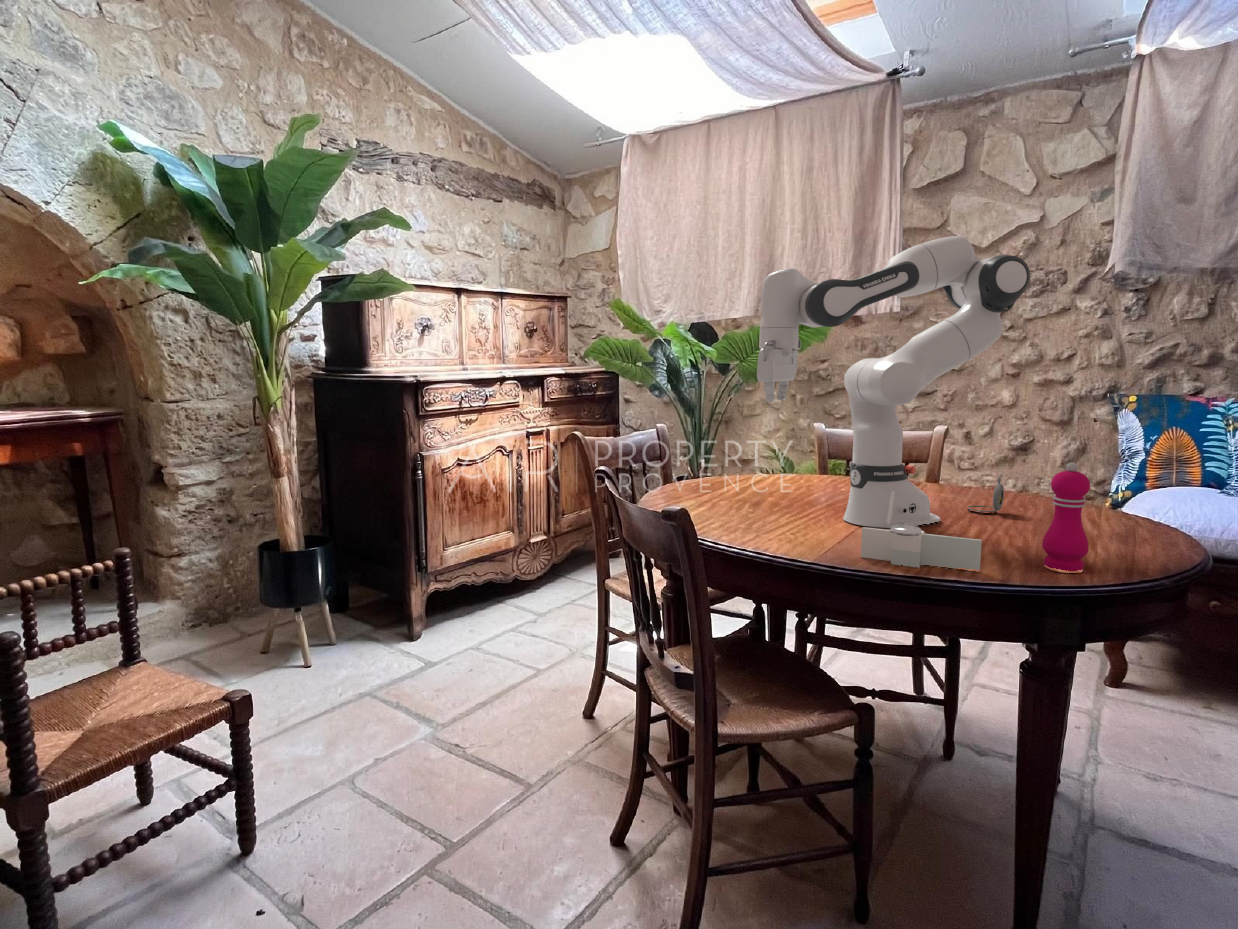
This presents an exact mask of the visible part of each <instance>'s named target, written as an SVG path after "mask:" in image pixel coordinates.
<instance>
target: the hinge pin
mask: <svg viewBox="0 0 1238 929" xmlns="http://www.w3.org/2000/svg"><path fill="white" fill-rule="evenodd" d="M890 530H891V532H892V533H894V534H897V535H904V536H917V535H920V534H921V531H922V528H920V526H916V527H915V526H910V525H894V526H891V528H890Z"/></svg>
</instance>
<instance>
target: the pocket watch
mask: <svg viewBox="0 0 1238 929" xmlns="http://www.w3.org/2000/svg"><path fill="white" fill-rule="evenodd" d="M1002 477H1003V474H1000V475H999V477H998V479H997V484H996V485H995V487H994V490H993V494H992V495H993V496H992V506H988V505H968V506H967V508H968V509H969V510H974V509H970V508H969V507H990V508H992V509H995V510H994V511H981V510H975V511H980V512H995V511H997V512H998V511H1000V510H1001V509H1002V507H1003V504H1004V498H1005V497H1004V496H1005V488H1004V485H1003V484H1001V481H1002ZM968 509H967V510H968ZM969 510H968V511H969Z"/></svg>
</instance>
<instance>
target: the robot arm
mask: <svg viewBox="0 0 1238 929" xmlns="http://www.w3.org/2000/svg"><path fill="white" fill-rule="evenodd" d="M1030 282H1031V270H1030V266H1028V263H1027V262H1026V261H1024V259H1022V258H1020V257H1019V256H1015V255H1012V254H1000V255H995V256H993V257H988V258H984V259H980V258H978V256H977V255H976V254H975V249H974V247H973V244H972V243H971V242H970V240H968V239H967V238H966V237H964V236H960V235H951V236H946V237H945V236H944V237H941V238H936V239H933V240H929V241H925V242H923V243H920V244H916V245H913V246H911V247H909V248H908V247H907V249H905V250H903V251H900V252H898V253H896V254H895V255H894V256H892V257H890V259H888V261H887V263H886V266H885V267H884V268H882V269H880V270H877V271H875V272H872V273H869V274H865V275H863V276H861V277H858V278H855V279H854V278H853V279H838V278H836V279H835V278H832V279H831V278H830V279H825V280H823V281H821V282H817V281H814V280H812V279H810V278H808V277H807V276H805V275H803V274H802V273H801V272H800V271H799V269H796V268H786V269H781V270H778V271H773V272H771V273H770V274H769V273H768V275H766V277H765V278H764V279H763V283H762V288H761V289H762V290H761V297H760V313H761V322H760V325H759V338H758V339H759V341H758V344H759V345H758V349H760V350H759V352H758V356H757V357H758V358H757V359H758V360H757V366H756V367H757V369H756V378H757V382H759V383H763V388H764V394H765V400H764V401H765V402H767V403H773V402H775V400H776V398H777V400H779V401H785V400H786V399H787V391H788V388H789V381H794V380H795V378H796V374H797V370H798V361H799V360H798V359H799V351H798V350H801V348H802V341H801V339H800V336H799V329H800V325H802V326H806V327H807V328H808V327H809V328H822V327H827V328H829V327H830V328H834V327H838V326H840V325H843V324H844V323H846V322H847V321H848V320H850V319H851V318H852V317H853V316H854V315H855V314H856V313H857V312H858V311H859V310H861V309H862V308H865V307H868V306H869V305H872V304H876V303H879V302H880V301H883V300H886V299H889V298H891V297H898V298H902V299H903V298H911V297H914V296H919V295H923V294H926V293H929V292H931V291H935V290H937V289H940V288H942V289H943V290H944V292H945V296H946V297H947V300H948V301H949V302H950V304H951V305H952V306H954V307H955V308H957V309H959V310H958V311H956V313H954V314H953V315H952V316H949V317H947V318H945V319H943V320H941V321H940V322H937V323H936V324H934V325H933V326H930V327H928V328H927V329H925V330H923V331H921V332H920V333H917V334H916V335H914V336H911V338H910V339H909V341H908V342H906V343H905V344H904V345H903V346H901V347H900V348H899V349H897V350H896V351H895V352H892V353H890V354H889V355H885V356H883V357H870V358H869V357H867V358H863V359H861V360H859V361H857V362H855V363H853V364H852V365H851V366H849V367H848V369H847V370H846V372H845V375H844V377H843V378H844V379H843V384H844V388H845V390H846V392H847V396H848V401H849V402H848V403H849V408H850V409H849V410H850V415H851V423H852V432H853V433H852V437H853V438H852V461H851V462H850V467H849V468H850V469H849V481H850V489H849V495H848V496H849V497H848V501H847V504H846V509H845V513H844V515H843V518H842V519H843V520H844V521H845V522H847V523H850V524H853V525H858V526H862V527H869V528H882V529H891V526H894V525H910V526H916V527H919V526H918V525H922V524H927V525H931V524H930V523H933V524H935V523H934V522H938V521H941V517H940V516H938V515H937V514H933V513H932V512H931V503H930V498H929V497H928V495H927V494H926V493H925V492H924V491H923V490H921V489H920V488H919V487H917V486H916V485H915V484H914V483H913V482H911V481H910V480H909V479H908V475H907V474H910V475H914V474H916V473H917V470H918V469H917V468H918V467H916V465H911V464H907V465H906V466H905V464H903V463H902V462H903V443H904V442H903V440H904V438H903V437H904V431H903V428H902V425H901V424H900V421H899V418H898V417H899V416H898V413H897V412H898V411H897V408H896V407H899V406H902V405H905V404H909V403H911V401H913V400H914V399H915V398H916V397H917V396H918V395H919V393H920V392H921V391H922V390H924V389H925V388H926V387H927V386H928V385H930V384H931V383H933V382H934V380H936V379H938V378H939V377H941V376H943V375H944V374H947V373H948V372H950V371H952V370H953V369H955V368H957V367H960V366H962V365H963V364H965V363H967V362H969V361H970V360H972V359H973V358H975V357H977V356H979V355H980V354H981V353H983V352H984V351H986V350H987V349H989V347H991V346H992V345H994V344H995V342H997V341H998V340H999V339H1000V337H1001V336H1002V333H1003V326H1004V325H1003V324H1004V323H1003V322H1002V317H1001V313H1006V312H1008V311H1011V309H1012V308H1013V307H1014V305H1015V304H1016V302H1017V301H1018V299H1019V298H1021V296H1022V295H1023V294H1024V293H1025V291H1026V290H1027V289H1028V287H1029V284H1030ZM777 382H778V391H777V393H776V394H777V395H776V394H775V386H776V385H775V383H777ZM938 523H939V522H938ZM922 526H923V525H922Z"/></svg>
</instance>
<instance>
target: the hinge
mask: <svg viewBox="0 0 1238 929" xmlns="http://www.w3.org/2000/svg"><path fill="white" fill-rule="evenodd" d="M982 542H983V540H982V539H978V538H971V537H970V538H969V537H961V536H950V535H942V534H941V535H940V534H931V533H925V531H924V530H921V534H920V535H917V536H904V535H897V534H894V533H892V532H891V529H887V528H877V527H868V526H862V527H861V543H860V544H861V550H860V551H861V552H860V558H861V559H862V558H863V559H870V558H871V560H877V561H884V562H885V561H887V562H890V564H891V565H895V566H901V565H903V566H902V567H908V566H909V567H911V568H916V567H917V569H918V568H919V569H920V567H921V566H924V565H931V566H930V567H932V566H939V567H938V568H940V567H949V568H965V569H975V570H980V571H981V559H982V558H981V557H982V556H981V555H982V545H983V544H982Z"/></svg>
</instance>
